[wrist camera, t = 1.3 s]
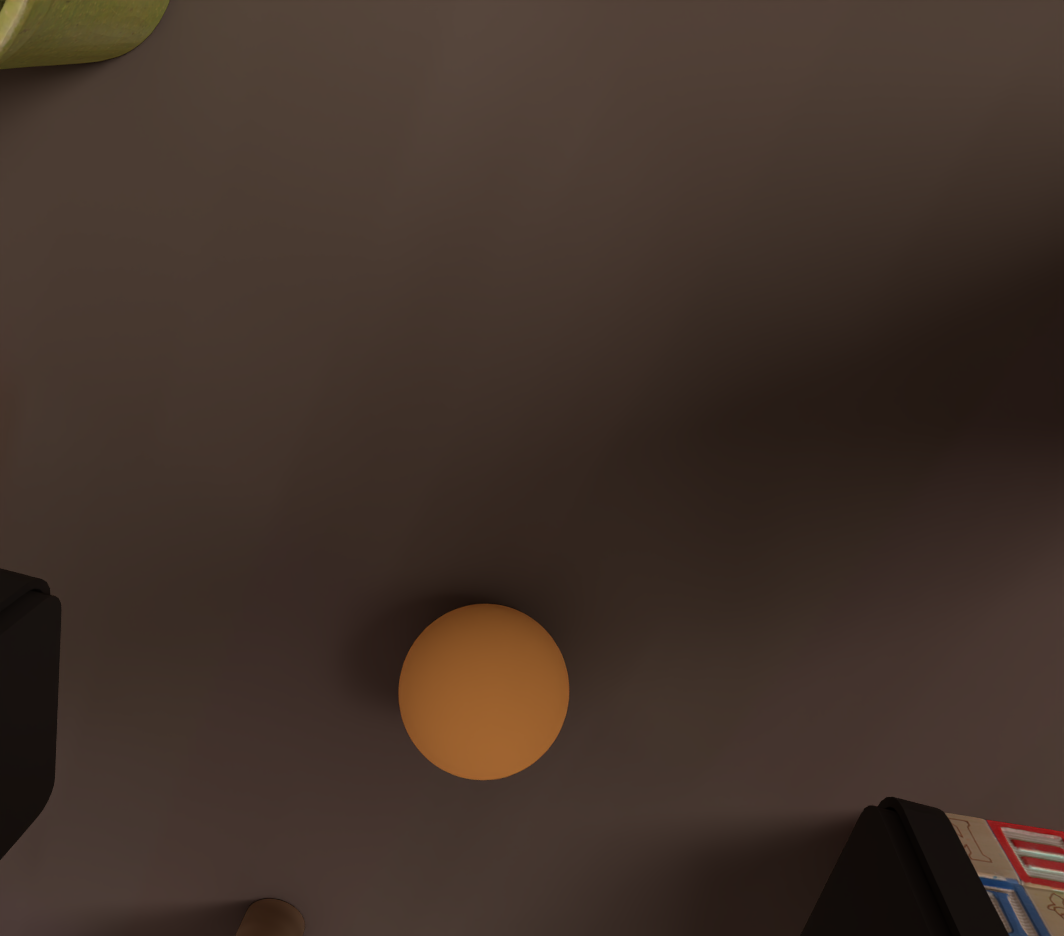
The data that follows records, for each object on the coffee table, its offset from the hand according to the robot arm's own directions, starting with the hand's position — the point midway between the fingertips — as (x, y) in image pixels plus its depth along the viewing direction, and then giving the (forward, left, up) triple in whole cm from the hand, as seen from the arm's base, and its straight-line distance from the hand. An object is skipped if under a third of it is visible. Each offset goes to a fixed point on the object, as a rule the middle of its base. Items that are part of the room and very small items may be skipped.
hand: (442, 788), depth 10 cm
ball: (0, +10, -16) cm, 18 cm away
